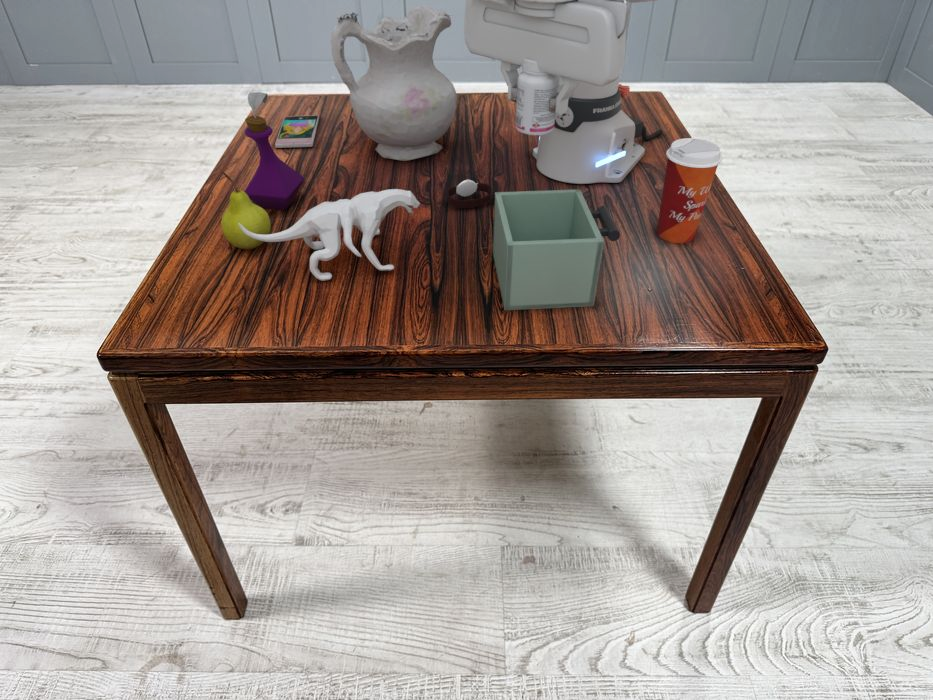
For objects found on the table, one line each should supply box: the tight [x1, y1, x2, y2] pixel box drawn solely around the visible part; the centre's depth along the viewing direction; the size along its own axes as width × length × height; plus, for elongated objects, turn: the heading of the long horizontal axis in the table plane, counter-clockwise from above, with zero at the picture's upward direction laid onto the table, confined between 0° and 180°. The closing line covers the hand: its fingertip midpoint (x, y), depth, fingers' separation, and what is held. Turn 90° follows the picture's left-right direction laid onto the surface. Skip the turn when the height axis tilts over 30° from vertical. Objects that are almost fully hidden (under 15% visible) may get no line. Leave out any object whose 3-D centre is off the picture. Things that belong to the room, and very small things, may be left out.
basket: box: [492, 188, 621, 311], centre depth 89 cm, size 10×14×15 cm
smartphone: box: [274, 114, 320, 149], centre depth 131 cm, size 7×1×15 cm
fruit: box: [220, 170, 272, 251], centre depth 95 cm, size 7×7×12 cm
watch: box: [446, 178, 493, 209], centre depth 108 cm, size 8×5×4 cm, turn 107°
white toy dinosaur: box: [238, 188, 421, 282], centre depth 92 cm, size 12×25×10 cm, turn 107°
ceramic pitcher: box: [330, 5, 458, 162], centre depth 118 cm, size 22×20×25 cm
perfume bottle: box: [243, 91, 305, 211], centre depth 103 cm, size 8×8×18 cm
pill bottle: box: [514, 59, 558, 136], centre depth 78 cm, size 5×5×8 cm
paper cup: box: [657, 137, 723, 244], centre depth 97 cm, size 8×8×14 cm
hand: (536, 106), depth 79 cm, fingers closed on pill bottle, 5 cm apart
